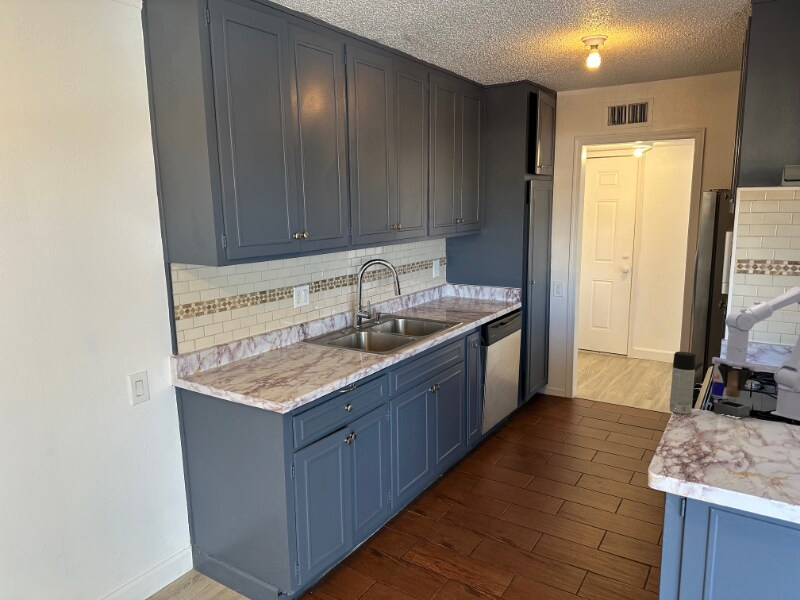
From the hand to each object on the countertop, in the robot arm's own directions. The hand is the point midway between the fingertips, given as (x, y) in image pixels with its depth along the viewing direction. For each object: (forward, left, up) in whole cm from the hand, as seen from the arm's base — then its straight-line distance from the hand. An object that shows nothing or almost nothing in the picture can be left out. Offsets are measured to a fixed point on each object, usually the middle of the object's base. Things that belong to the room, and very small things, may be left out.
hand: (733, 388), depth 185 cm
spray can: (+10, +13, -9) cm, 19 cm away
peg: (0, 0, -2) cm, 2 cm away
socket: (0, 0, -9) cm, 9 cm away
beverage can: (+13, -17, -9) cm, 23 cm away
